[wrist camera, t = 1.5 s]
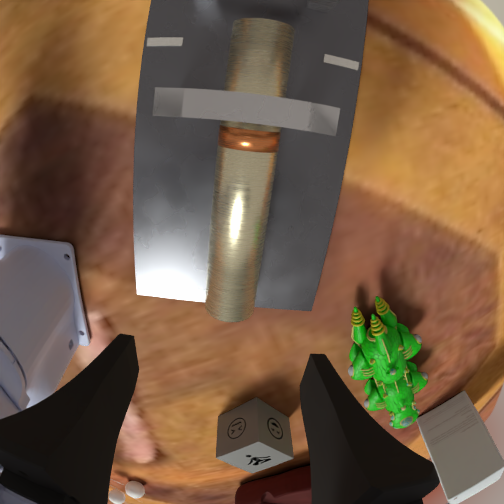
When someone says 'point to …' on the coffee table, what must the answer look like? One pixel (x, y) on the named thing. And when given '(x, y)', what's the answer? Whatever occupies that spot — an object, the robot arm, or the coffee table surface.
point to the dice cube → (254, 437)
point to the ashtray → (278, 489)
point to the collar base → (250, 111)
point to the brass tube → (245, 169)
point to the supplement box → (460, 448)
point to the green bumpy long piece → (387, 364)
